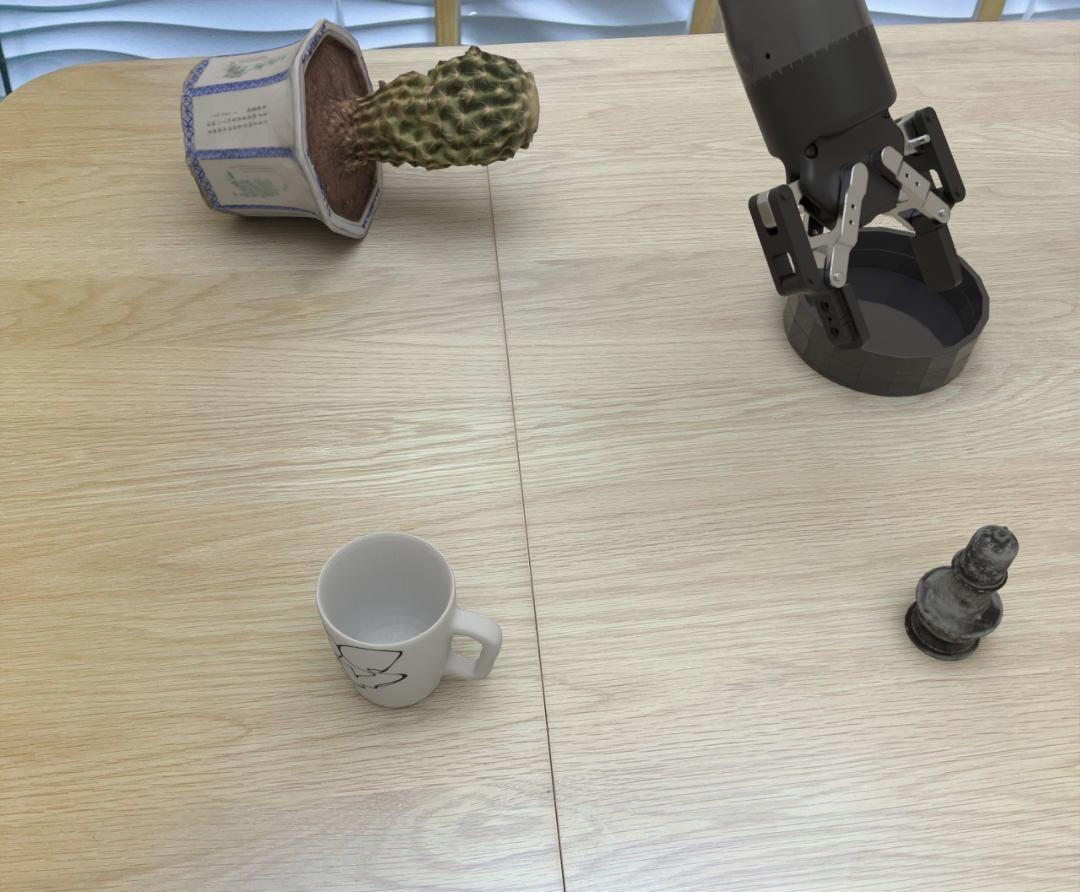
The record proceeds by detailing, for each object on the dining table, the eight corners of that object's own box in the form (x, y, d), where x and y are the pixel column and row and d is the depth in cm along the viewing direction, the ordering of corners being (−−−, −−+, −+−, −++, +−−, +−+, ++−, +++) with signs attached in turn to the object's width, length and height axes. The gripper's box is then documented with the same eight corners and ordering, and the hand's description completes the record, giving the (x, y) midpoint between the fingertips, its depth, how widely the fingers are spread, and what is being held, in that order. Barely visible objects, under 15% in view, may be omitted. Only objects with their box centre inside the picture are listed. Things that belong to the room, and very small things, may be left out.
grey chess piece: (896, 589, 79) (952, 485, 69) (978, 597, 79) (1045, 494, 69) (904, 660, 76) (965, 561, 66) (990, 668, 75) (1063, 570, 66)
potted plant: (130, 112, 86) (499, 57, 79) (200, 5, 97) (528, -51, 90) (224, 291, 99) (547, 258, 92) (276, 179, 110) (567, 141, 103)
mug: (516, 638, 76) (518, 555, 68) (485, 747, 71) (483, 672, 63) (358, 604, 77) (342, 518, 69) (316, 708, 72) (294, 630, 64)
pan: (865, 243, 102) (879, 203, 98) (1008, 340, 95) (1029, 301, 91) (744, 316, 96) (754, 276, 92) (888, 426, 88) (904, 387, 85)
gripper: (760, 69, 55) (871, 362, 59) (938, -15, 61) (1027, 258, 65) (674, 115, 62) (779, 375, 66) (841, 35, 67) (928, 279, 72)
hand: (902, 316), depth 66 cm, fingers open, 8 cm apart
